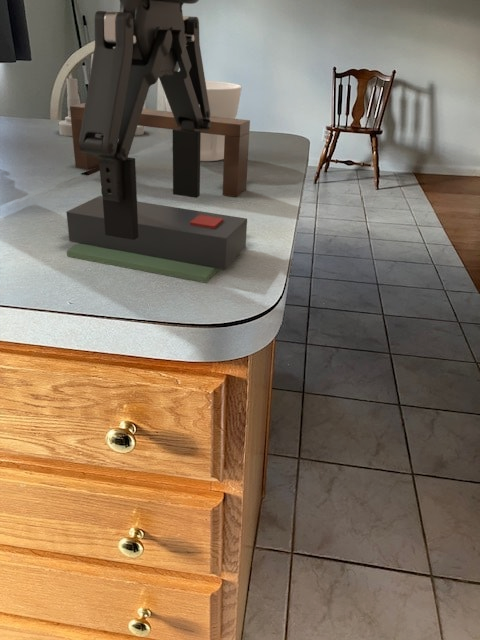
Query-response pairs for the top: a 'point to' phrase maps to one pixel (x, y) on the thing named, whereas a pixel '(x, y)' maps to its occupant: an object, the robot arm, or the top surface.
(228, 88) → the cup
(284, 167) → the top surface
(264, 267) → the top surface
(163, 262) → the mat
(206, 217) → the remote
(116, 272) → the top surface
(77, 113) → the brown wooden arch
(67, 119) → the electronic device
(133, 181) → the robot arm
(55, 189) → the top surface
